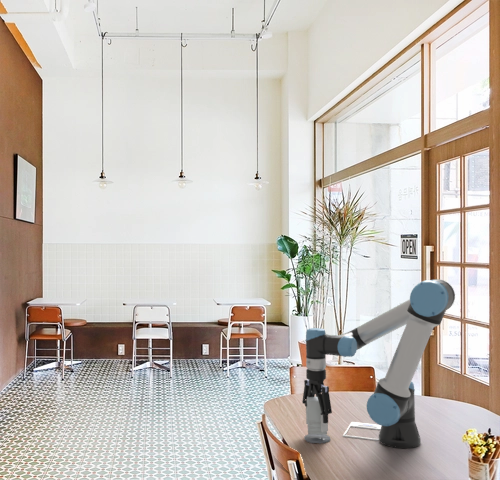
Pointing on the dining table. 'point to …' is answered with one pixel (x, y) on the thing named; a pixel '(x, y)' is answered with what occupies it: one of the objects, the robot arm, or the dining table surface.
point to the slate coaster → (317, 438)
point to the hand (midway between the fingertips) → (316, 427)
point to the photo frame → (362, 425)
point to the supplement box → (314, 416)
